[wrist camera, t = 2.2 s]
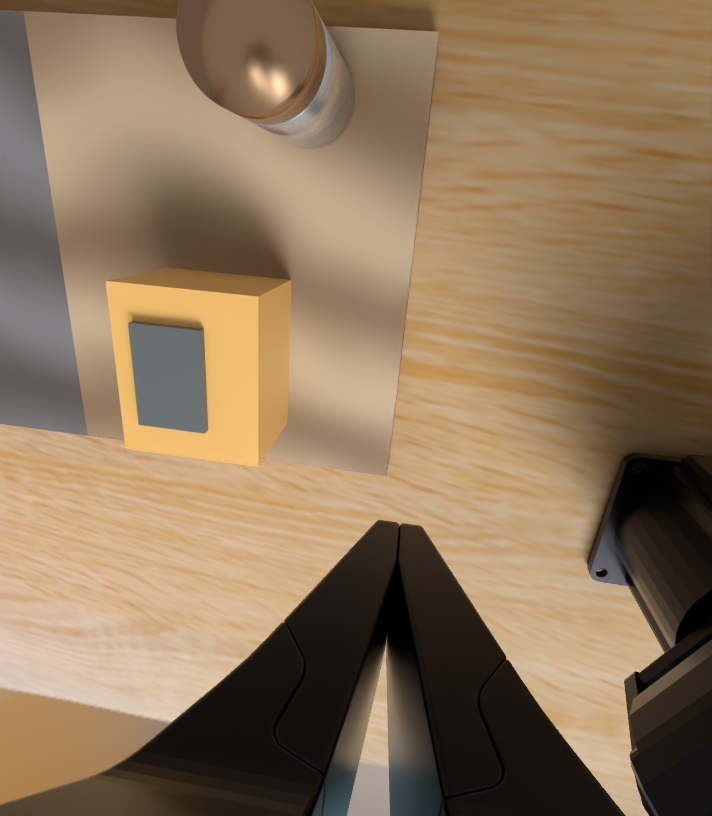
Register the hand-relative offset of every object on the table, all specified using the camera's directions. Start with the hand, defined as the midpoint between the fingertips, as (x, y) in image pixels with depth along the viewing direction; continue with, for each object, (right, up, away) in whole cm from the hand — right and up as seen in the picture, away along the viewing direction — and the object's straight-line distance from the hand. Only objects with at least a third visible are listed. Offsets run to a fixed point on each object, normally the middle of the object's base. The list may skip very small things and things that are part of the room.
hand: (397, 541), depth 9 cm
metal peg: (-2, +13, +7) cm, 15 cm away
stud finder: (-6, +5, +11) cm, 13 cm away
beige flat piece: (-10, +9, +11) cm, 17 cm away
